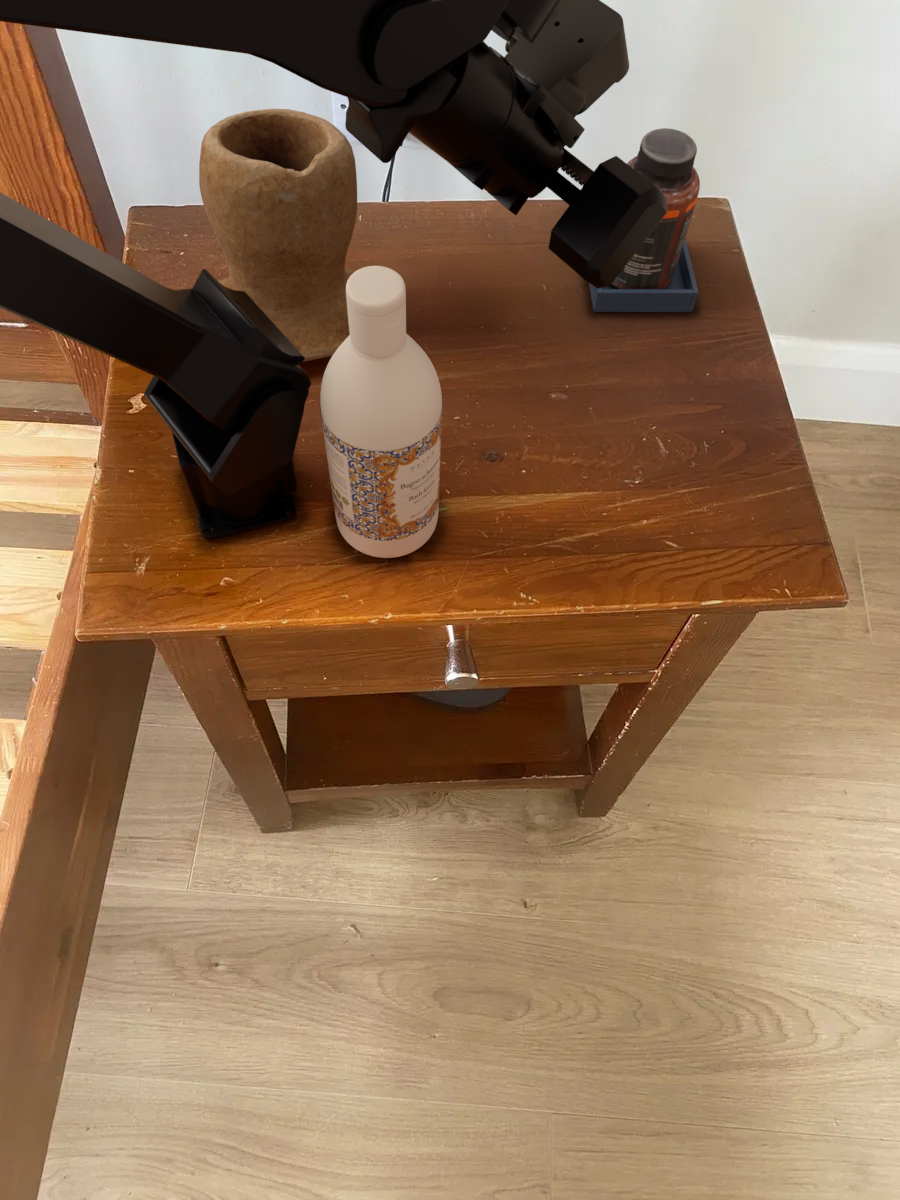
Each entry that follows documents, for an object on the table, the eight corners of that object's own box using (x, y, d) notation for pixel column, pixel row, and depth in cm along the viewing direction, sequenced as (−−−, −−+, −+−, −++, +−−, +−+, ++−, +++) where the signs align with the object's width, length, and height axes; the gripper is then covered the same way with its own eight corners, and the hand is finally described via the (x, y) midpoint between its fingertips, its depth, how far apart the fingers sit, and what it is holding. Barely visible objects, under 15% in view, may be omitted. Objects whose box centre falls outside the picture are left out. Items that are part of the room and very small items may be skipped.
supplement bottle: (663, 247, 74) (702, 117, 64) (679, 297, 71) (722, 169, 61) (593, 250, 74) (621, 119, 64) (606, 301, 71) (638, 172, 61)
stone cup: (362, 259, 73) (350, 76, 60) (391, 364, 67) (385, 188, 54) (175, 285, 71) (120, 101, 57) (189, 396, 65) (132, 220, 52)
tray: (593, 312, 71) (597, 292, 69) (582, 244, 75) (586, 224, 73) (692, 312, 71) (698, 292, 69) (676, 245, 75) (682, 224, 73)
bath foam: (383, 580, 58) (368, 359, 40) (315, 516, 60) (273, 280, 43) (459, 521, 60) (476, 288, 43) (391, 461, 63) (381, 217, 45)
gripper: (690, 47, 42) (766, 175, 55) (451, -112, 49) (569, 35, 62) (542, 250, 46) (645, 324, 59) (341, 77, 53) (474, 178, 66)
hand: (583, 208), depth 62 cm, fingers open, 9 cm apart
